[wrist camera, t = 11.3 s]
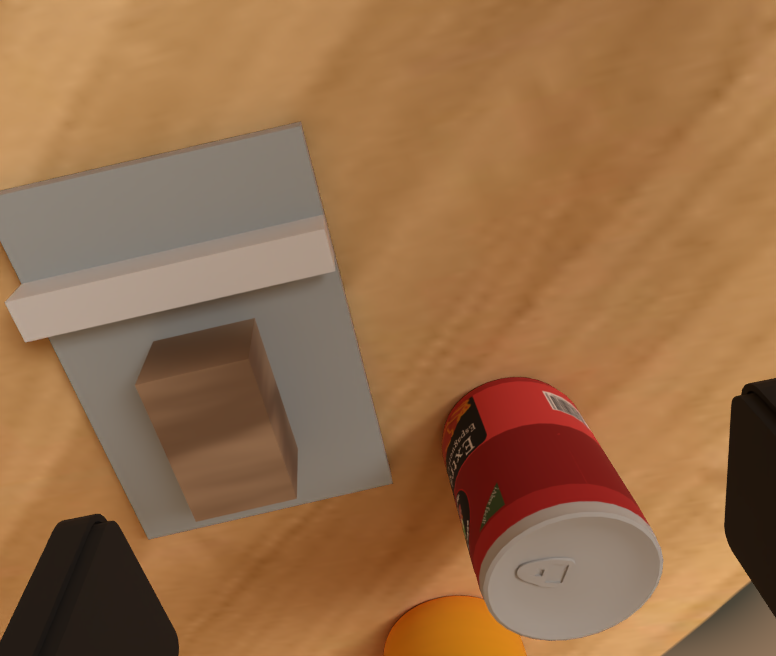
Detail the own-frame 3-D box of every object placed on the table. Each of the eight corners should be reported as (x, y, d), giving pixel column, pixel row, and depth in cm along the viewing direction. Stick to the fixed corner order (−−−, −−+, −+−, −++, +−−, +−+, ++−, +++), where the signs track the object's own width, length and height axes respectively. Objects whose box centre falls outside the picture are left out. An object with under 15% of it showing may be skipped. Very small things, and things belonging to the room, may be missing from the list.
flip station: (-11, 193, 30) (-42, 214, 28) (300, 121, 30) (300, 135, 28) (152, 527, 40) (140, 566, 37) (390, 472, 40) (396, 507, 37)
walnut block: (134, 385, 30) (197, 524, 34) (248, 359, 30) (297, 501, 34) (153, 341, 33) (207, 471, 37) (254, 317, 33) (298, 450, 37)
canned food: (434, 381, 37) (479, 526, 28) (580, 363, 38) (675, 499, 28) (441, 492, 41) (484, 655, 31) (574, 474, 41) (657, 629, 31)
